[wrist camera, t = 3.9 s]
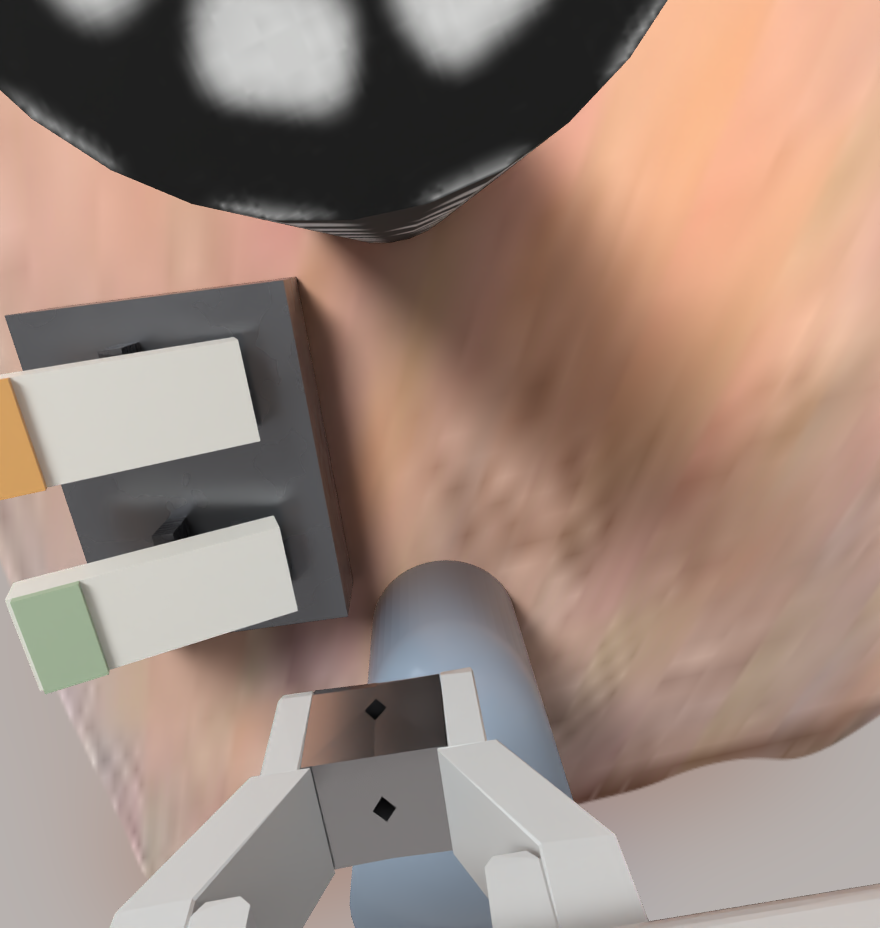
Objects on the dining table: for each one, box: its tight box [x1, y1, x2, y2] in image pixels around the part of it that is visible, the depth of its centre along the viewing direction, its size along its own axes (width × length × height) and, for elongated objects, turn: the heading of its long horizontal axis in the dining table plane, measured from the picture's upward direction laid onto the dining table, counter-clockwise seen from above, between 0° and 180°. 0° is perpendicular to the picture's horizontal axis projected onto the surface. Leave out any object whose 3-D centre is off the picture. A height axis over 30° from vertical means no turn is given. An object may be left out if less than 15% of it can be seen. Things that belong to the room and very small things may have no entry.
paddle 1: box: [0, 337, 260, 500], centre depth 21 cm, size 9×4×2 cm, turn 97°
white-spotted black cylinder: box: [0, 0, 667, 243], centre depth 15 cm, size 8×8×20 cm
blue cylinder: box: [350, 560, 573, 928], centre depth 25 cm, size 7×7×14 cm
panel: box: [5, 277, 353, 632], centre depth 26 cm, size 10×14×5 cm
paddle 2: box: [5, 515, 298, 694], centre depth 23 cm, size 9×4×2 cm, turn 97°
